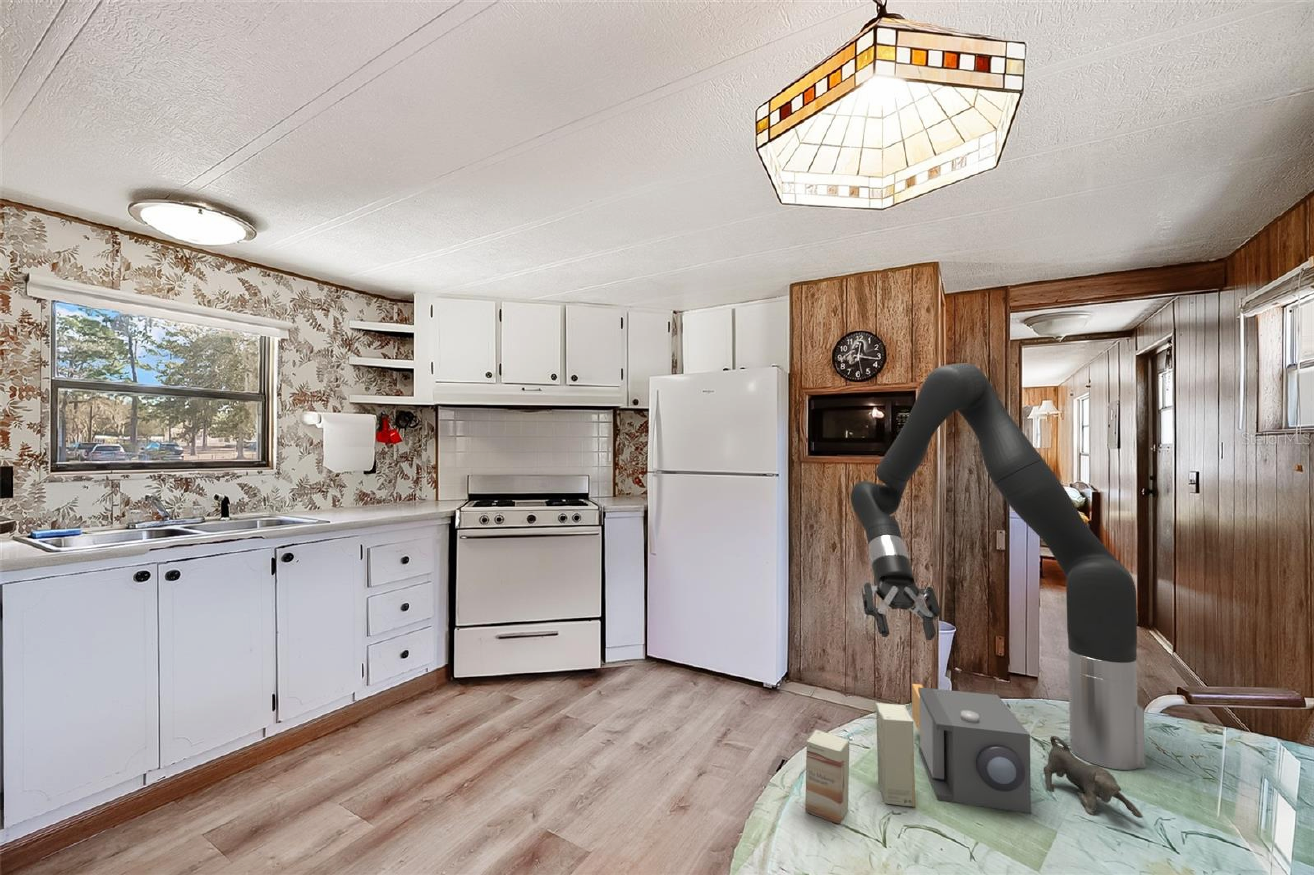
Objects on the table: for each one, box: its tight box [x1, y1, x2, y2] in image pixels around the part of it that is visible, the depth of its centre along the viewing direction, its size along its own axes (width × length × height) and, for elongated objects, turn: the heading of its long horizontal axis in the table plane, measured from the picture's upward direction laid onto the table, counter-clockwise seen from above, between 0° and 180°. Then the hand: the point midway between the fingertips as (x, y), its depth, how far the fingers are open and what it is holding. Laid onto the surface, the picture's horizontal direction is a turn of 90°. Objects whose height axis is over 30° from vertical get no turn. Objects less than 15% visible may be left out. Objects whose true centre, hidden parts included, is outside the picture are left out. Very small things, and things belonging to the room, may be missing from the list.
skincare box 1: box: [804, 729, 850, 824], centre depth 82 cm, size 5×4×10 cm
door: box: [911, 683, 944, 779], centre depth 96 cm, size 2×17×9 cm, turn 166°
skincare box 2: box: [875, 702, 916, 807], centre depth 86 cm, size 6×4×12 cm
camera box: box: [918, 687, 1032, 814], centre depth 89 cm, size 12×15×12 cm
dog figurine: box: [1042, 735, 1144, 819], centre depth 84 cm, size 12×6×7 cm, turn 12°
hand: (908, 637), depth 110 cm, fingers open, 8 cm apart
